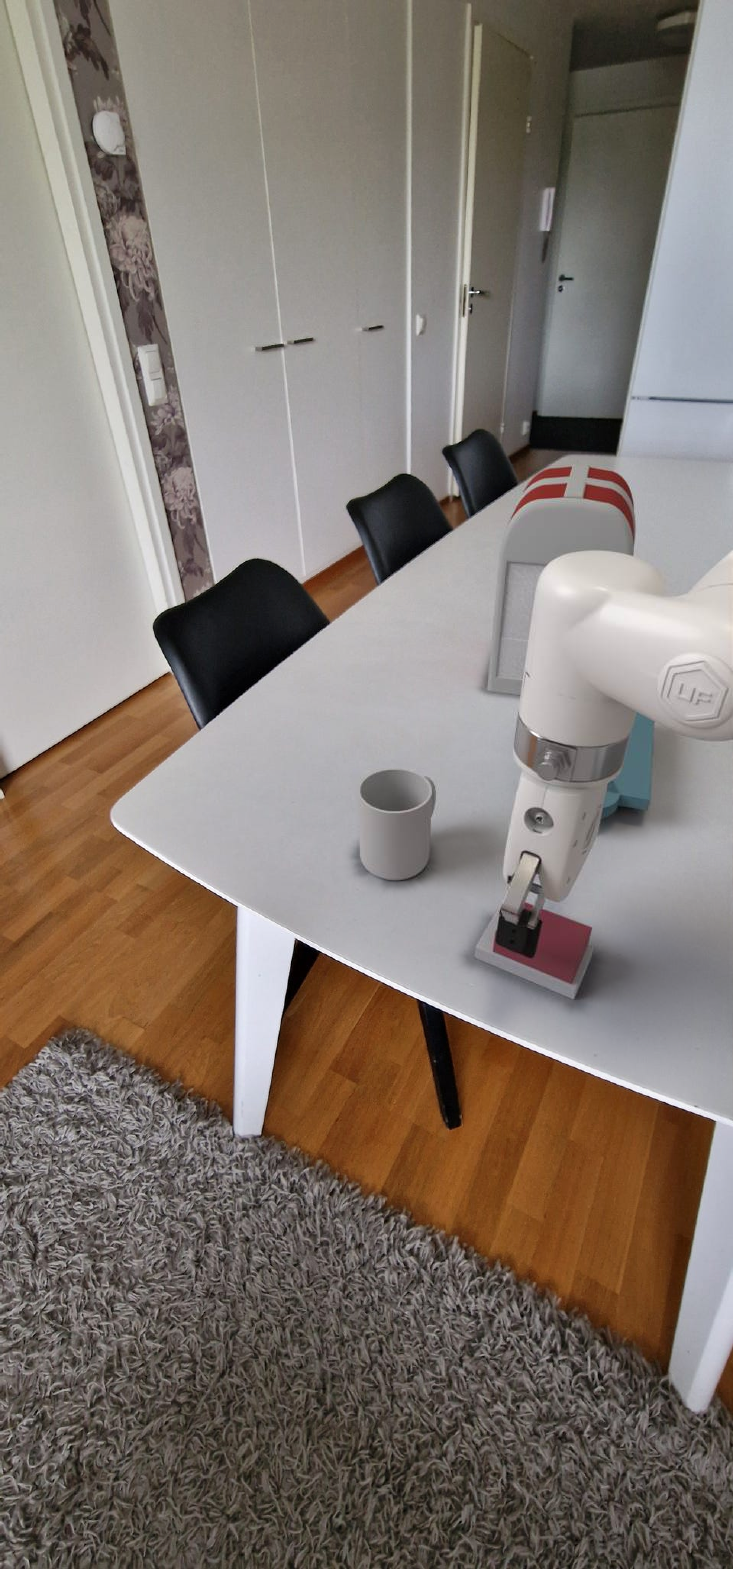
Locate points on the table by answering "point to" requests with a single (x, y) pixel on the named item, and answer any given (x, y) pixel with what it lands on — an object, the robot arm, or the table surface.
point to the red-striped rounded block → (551, 551)
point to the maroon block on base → (544, 953)
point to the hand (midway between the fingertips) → (536, 909)
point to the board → (633, 771)
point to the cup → (395, 822)
